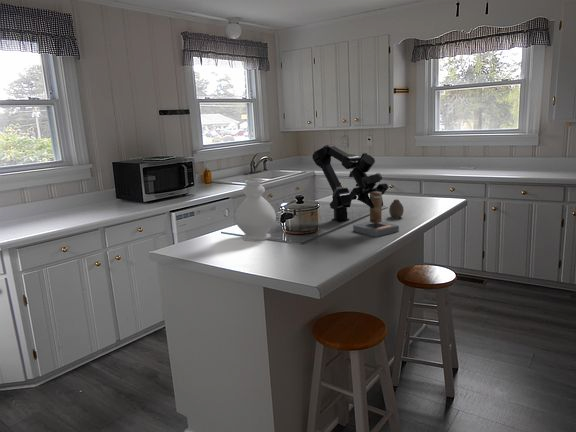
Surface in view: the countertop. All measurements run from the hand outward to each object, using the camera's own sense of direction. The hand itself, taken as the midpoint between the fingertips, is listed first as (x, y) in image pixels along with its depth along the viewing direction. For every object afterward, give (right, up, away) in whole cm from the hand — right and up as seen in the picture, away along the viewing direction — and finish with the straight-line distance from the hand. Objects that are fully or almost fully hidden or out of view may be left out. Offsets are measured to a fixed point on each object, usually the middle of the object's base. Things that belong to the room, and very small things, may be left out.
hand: (377, 206), depth 202 cm
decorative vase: (-53, -14, +1) cm, 55 cm away
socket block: (0, -11, +4) cm, 11 cm away
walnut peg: (0, -6, +3) cm, 7 cm away
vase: (+14, -5, +27) cm, 31 cm away
